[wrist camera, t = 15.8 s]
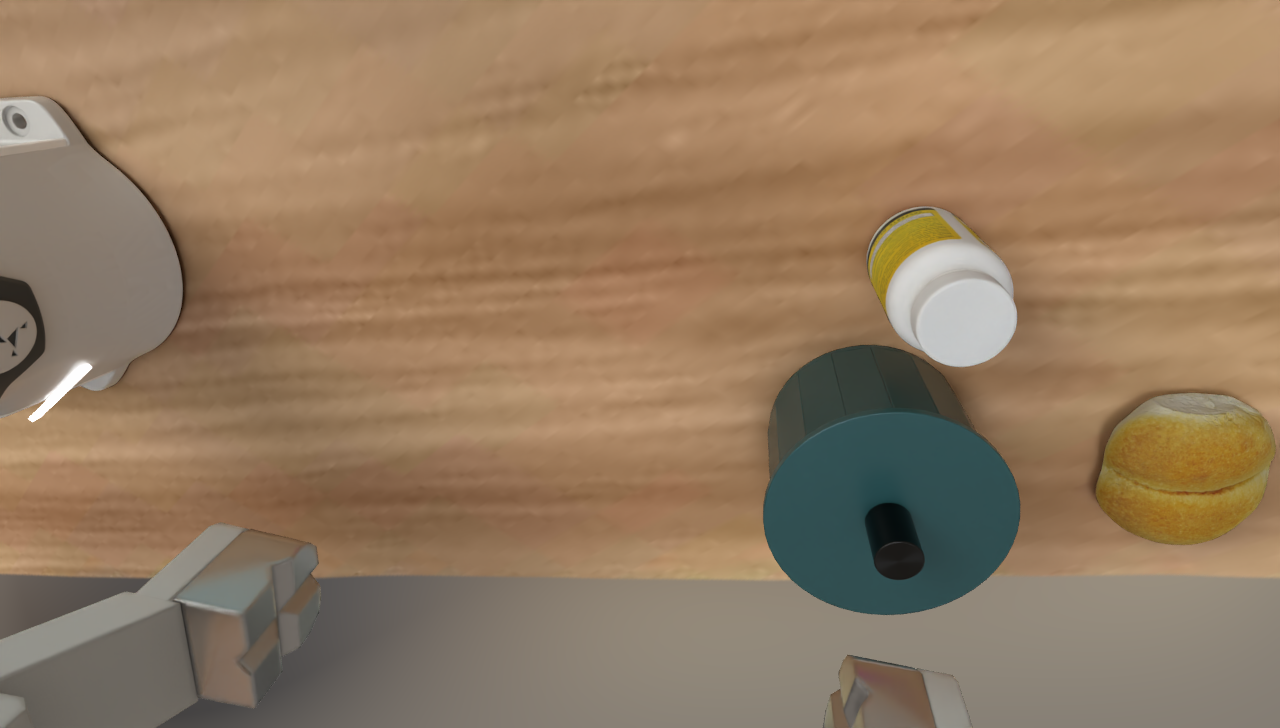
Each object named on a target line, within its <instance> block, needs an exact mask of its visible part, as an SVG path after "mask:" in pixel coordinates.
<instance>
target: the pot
mask: <svg viewBox="0 0 1280 728" xmlns="http://www.w3.org/2000/svg"><path fill="white" fill-rule="evenodd" d="M881 408H910V409H918V410H925V411H929V412H933V413H937V414H941V415H943V416H946V417H949V418H951V419H954V420H957V421H959V422H960V423H962V424H964V425H966V426H968V427H970V428H972V429H973V430H974V431H976V430H975V428H974V426H973V424H972V422H971V421H970V419H969V417H968V415H967V414H966V412H965V410H964V408H963V406H962V405H961V403H960V401H959V400H958V398H957V397H956V395H955V393H954V392H953V390H952V389H951V387H950V385H949V384H948V382H947V381H946V380H945V378H944V376H943V375H942V374H941V373H940V372H938V371H937V370H936V369H935V368H934V367H933V366H931V365H930V364H929V363H927V362H926V361H924V360H923V359H921V358H919V357H917V356H915V355H913V354H911V353H908V352H906V351H903V350H900V349H896V348H892V347H887V346H878V345H860V346H851V347H846V348H842V349H837V350H834V351H832V352H829V353H826V354H824V355H822V356H820V357H818V358H816V359H814V360H812V361H811V362H809V363H808V364H806V365H805V366H803V367H802V368H801V369H799V370H798V371H797V372H796V373H795V374H794V375H793V376H792V377H791V378H790V379H789V380H788V381H787V382H786V384H785V385H784V387H783V388H782V389H781V391H780V392H779V394H778V396H777V398H776V400H775V402H774V405H773V409H772V412H771V417H770V422H769V428H768V450H769V473H770V478H771V476H772V475H773V473H774V471H775V469H776V467H777V465H778V464H779V463H780V461H781V460H782V459H783V457H784V456H785V455H786V454H787V453H788V451H789V450H790V449H791V448H792V447H793V446H794V445H795V444H796V443H798V442H799V441H800V440H801V439H803V438H804V437H805V436H806V435H808V434H809V433H811V432H812V431H814V430H816V429H817V428H819V427H820V426H822V425H824V424H826V423H829V422H831V421H833V420H835V419H837V418H840V417H843V416H846V415H849V414H852V413H856V412H861V411H866V410H871V409H881ZM976 432H977V431H976Z"/></svg>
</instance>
